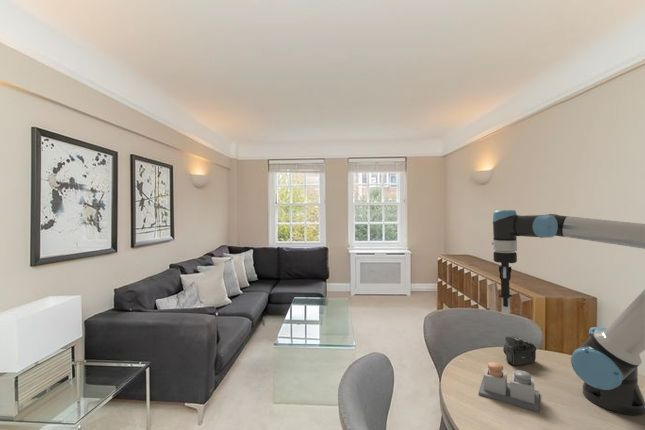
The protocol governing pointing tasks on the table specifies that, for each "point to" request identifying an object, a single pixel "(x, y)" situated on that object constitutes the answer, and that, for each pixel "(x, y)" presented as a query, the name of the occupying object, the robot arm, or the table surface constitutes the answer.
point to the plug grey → (522, 377)
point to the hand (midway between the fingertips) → (505, 314)
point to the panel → (510, 391)
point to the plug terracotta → (495, 369)
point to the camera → (519, 351)
